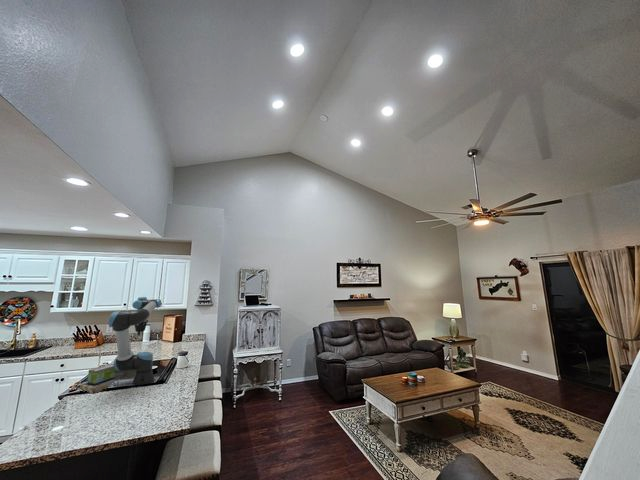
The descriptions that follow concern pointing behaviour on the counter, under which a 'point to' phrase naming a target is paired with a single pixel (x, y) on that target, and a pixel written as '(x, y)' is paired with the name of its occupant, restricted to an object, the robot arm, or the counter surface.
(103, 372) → the tea box
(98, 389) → the bay
